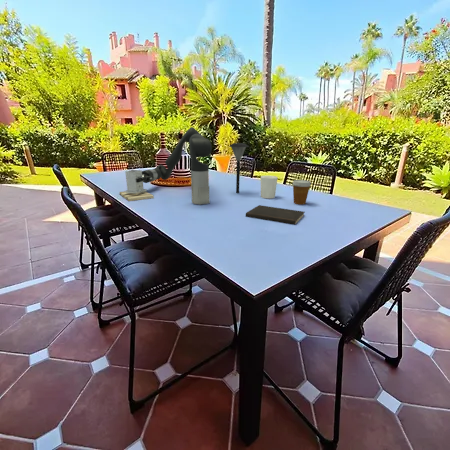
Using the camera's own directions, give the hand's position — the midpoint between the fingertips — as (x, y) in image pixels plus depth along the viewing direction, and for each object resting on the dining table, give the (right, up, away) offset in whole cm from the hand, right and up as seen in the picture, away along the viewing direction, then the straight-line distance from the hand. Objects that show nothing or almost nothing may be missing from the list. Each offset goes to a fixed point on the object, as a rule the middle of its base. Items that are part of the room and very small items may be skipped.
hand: (132, 180), depth 155 cm
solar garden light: (+61, -6, +15) cm, 63 cm away
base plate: (+1, -9, +5) cm, 10 cm away
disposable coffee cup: (+94, -14, -7) cm, 95 cm away
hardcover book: (+76, -22, -29) cm, 85 cm away
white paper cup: (+79, -9, +6) cm, 79 cm away
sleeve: (+1, -6, +4) cm, 7 cm away
